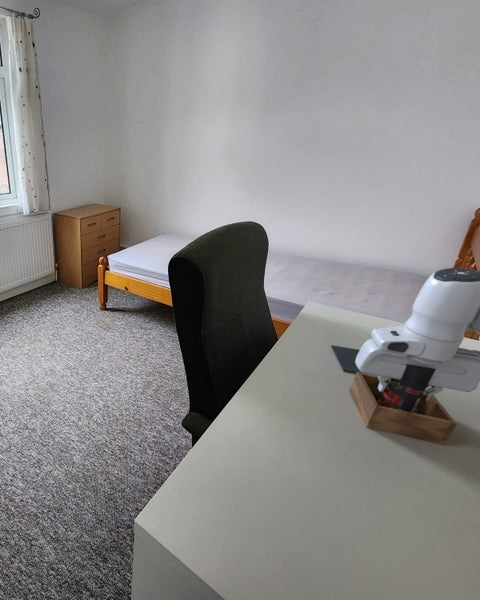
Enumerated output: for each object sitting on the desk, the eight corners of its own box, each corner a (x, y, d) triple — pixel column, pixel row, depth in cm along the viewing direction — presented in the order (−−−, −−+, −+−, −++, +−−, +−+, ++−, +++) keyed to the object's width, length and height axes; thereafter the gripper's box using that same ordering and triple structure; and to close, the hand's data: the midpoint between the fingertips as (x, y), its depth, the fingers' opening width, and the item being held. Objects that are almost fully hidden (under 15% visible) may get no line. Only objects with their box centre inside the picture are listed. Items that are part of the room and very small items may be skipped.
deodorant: (377, 402, 84) (401, 351, 78) (409, 415, 80) (437, 362, 74) (373, 415, 80) (398, 362, 74) (407, 428, 76) (435, 374, 70)
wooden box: (415, 404, 83) (425, 384, 81) (444, 445, 72) (457, 424, 69) (349, 390, 88) (356, 371, 86) (366, 427, 77) (375, 406, 74)
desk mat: (410, 359, 100) (411, 358, 100) (434, 388, 89) (435, 386, 88) (331, 346, 107) (331, 345, 107) (343, 371, 96) (343, 369, 95)
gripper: (483, 345, 71) (453, 397, 76) (364, 327, 78) (345, 376, 84) (503, 361, 65) (469, 416, 71) (373, 341, 73) (352, 392, 78)
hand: (401, 394), depth 77 cm, fingers closed on deodorant, 6 cm apart
